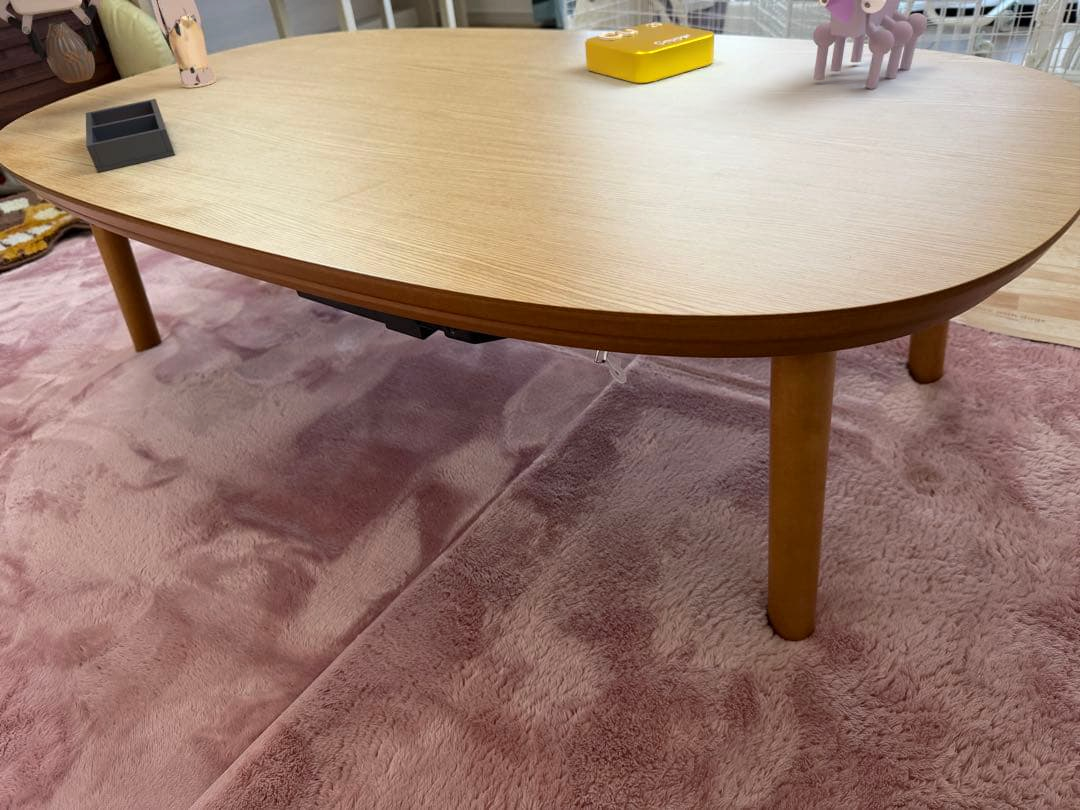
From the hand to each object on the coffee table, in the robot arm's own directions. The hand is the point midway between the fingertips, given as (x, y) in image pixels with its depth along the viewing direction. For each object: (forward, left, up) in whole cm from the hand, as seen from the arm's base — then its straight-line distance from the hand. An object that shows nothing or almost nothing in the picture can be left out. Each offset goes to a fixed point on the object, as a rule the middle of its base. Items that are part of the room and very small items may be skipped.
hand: (68, 53), depth 133 cm
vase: (0, 0, -4) cm, 4 cm away
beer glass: (+18, +1, -9) cm, 21 cm away
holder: (+5, -31, -9) cm, 32 cm away
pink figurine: (+94, -79, -9) cm, 123 cm away
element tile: (+81, -51, -9) cm, 96 cm away
